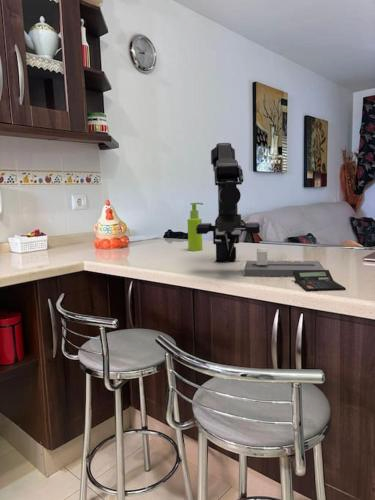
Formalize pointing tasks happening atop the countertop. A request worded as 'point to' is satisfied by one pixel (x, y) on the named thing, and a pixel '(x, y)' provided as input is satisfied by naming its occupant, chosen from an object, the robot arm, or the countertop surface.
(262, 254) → the fader
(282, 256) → the countertop surface
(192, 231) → the soap dispenser
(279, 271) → the gray slotted panel
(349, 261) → the countertop surface
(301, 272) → the calculator
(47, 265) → the countertop surface
